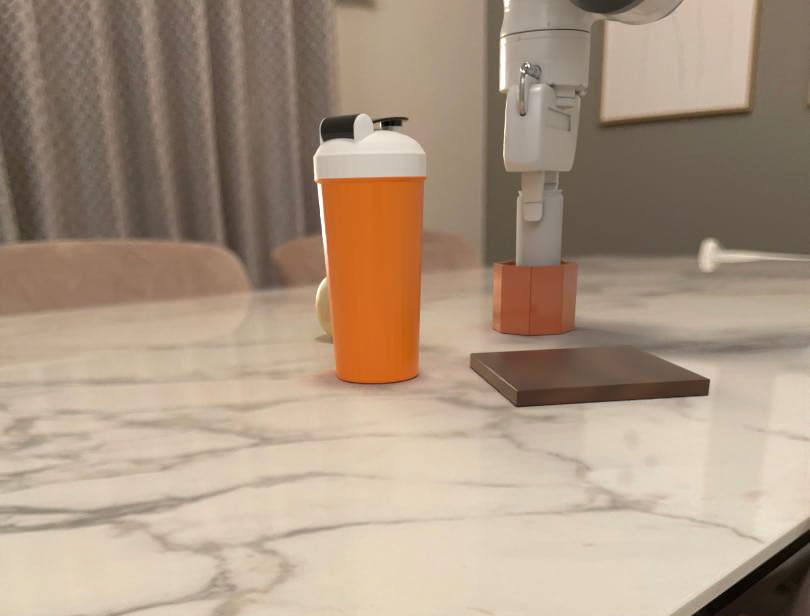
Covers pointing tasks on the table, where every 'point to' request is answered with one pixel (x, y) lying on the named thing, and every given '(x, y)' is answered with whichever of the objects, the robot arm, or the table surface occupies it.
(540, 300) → the crock
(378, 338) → the shaker bottle
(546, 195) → the beverage can
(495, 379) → the board
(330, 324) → the apple
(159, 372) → the table surface
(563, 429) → the table surface
